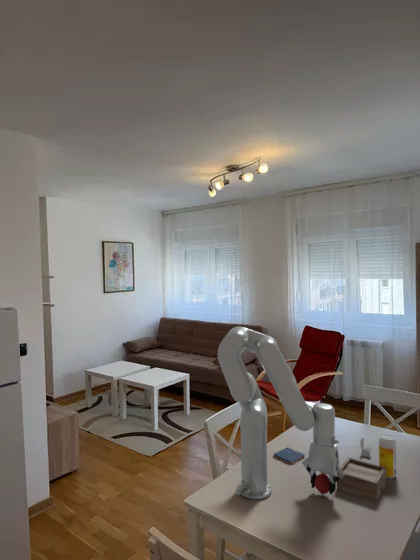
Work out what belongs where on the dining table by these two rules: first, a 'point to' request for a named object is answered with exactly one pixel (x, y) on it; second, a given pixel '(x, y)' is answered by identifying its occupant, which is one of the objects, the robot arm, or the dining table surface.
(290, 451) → the woven mat
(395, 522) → the dining table surface
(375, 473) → the walnut tray
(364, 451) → the architectural model
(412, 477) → the dining table surface
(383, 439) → the beer can
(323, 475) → the pomegranate
